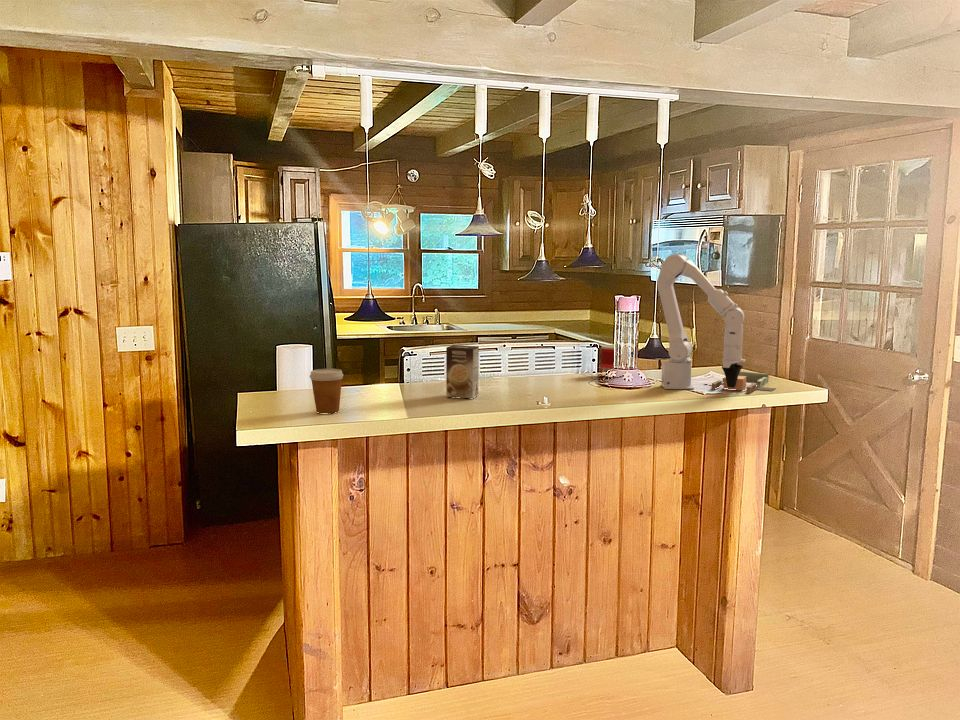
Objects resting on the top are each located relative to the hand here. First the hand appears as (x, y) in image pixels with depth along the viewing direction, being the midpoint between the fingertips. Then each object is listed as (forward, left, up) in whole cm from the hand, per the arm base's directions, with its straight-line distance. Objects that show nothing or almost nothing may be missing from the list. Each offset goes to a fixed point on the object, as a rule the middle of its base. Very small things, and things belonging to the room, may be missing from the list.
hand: (731, 387), depth 248 cm
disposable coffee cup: (-123, -37, -2) cm, 128 cm away
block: (+2, +4, -1) cm, 5 cm away
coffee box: (-86, -13, -2) cm, 87 cm away
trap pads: (+5, +8, -1) cm, 10 cm away
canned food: (-35, +28, -2) cm, 45 cm away
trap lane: (+6, +10, -1) cm, 11 cm away
